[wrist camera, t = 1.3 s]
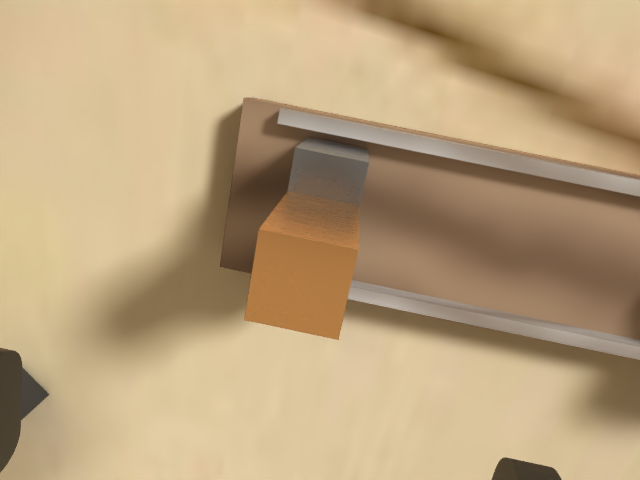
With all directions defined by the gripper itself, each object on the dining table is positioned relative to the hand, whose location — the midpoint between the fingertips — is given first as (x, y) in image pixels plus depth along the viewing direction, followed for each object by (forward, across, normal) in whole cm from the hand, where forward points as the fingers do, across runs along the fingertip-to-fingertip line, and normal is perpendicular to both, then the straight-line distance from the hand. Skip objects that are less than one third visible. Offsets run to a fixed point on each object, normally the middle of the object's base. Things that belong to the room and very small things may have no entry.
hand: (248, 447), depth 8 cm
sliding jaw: (+18, 0, 0) cm, 18 cm away
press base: (+21, -12, 0) cm, 24 cm away
